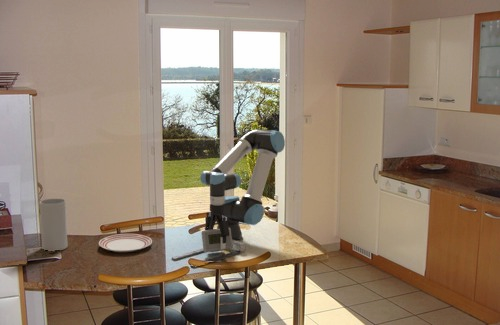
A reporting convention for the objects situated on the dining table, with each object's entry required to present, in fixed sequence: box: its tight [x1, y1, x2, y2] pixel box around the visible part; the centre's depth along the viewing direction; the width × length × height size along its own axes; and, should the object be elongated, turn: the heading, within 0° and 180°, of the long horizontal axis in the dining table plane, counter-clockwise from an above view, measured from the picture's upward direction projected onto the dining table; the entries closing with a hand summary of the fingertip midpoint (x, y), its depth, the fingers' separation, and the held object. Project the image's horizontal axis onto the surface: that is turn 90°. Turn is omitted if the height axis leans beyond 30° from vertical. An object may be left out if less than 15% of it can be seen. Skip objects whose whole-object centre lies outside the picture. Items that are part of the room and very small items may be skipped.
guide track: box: [171, 239, 246, 269], centre depth 281 cm, size 17×34×5 cm, turn 136°
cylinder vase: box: [39, 198, 68, 251], centre depth 288 cm, size 12×12×25 cm
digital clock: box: [201, 228, 233, 253], centre depth 284 cm, size 16×9×11 cm, turn 105°
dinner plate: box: [98, 233, 153, 253], centre depth 294 cm, size 28×27×3 cm
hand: (216, 246), depth 285 cm, fingers closed on digital clock, 8 cm apart
